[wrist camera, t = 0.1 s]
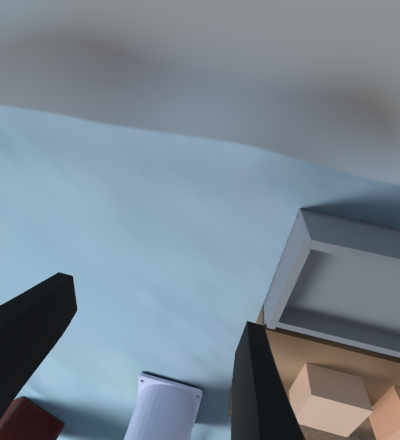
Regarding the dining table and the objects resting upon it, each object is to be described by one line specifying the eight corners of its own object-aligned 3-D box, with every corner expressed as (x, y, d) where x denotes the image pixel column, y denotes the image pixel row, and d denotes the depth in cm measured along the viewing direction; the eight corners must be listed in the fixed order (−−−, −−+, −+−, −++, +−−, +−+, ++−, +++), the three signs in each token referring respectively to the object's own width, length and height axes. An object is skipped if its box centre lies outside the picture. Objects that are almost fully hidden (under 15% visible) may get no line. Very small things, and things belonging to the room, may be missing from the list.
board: (409, 440, 28) (422, 470, 26) (230, 390, 30) (228, 414, 28) (508, 364, 21) (537, 398, 19) (262, 305, 22) (263, 329, 20)
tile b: (338, 404, 23) (347, 437, 21) (288, 390, 24) (292, 422, 21) (361, 377, 21) (373, 411, 19) (305, 362, 21) (311, 394, 19)
